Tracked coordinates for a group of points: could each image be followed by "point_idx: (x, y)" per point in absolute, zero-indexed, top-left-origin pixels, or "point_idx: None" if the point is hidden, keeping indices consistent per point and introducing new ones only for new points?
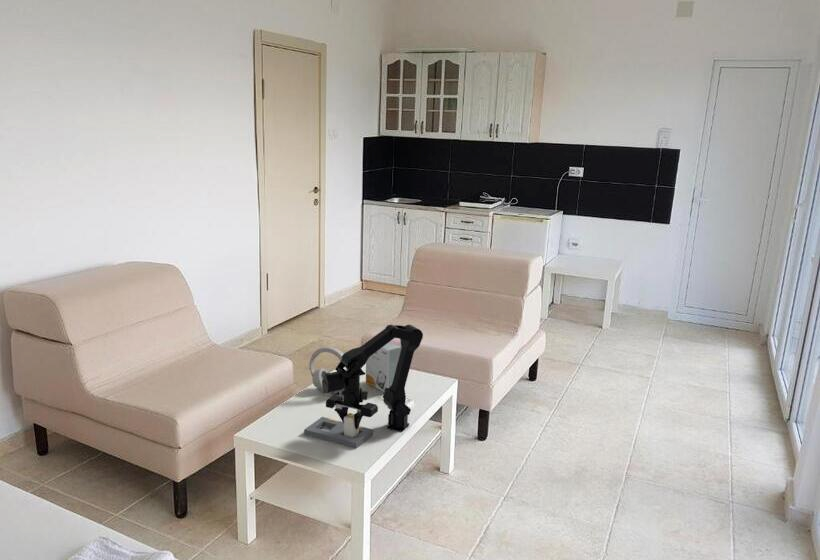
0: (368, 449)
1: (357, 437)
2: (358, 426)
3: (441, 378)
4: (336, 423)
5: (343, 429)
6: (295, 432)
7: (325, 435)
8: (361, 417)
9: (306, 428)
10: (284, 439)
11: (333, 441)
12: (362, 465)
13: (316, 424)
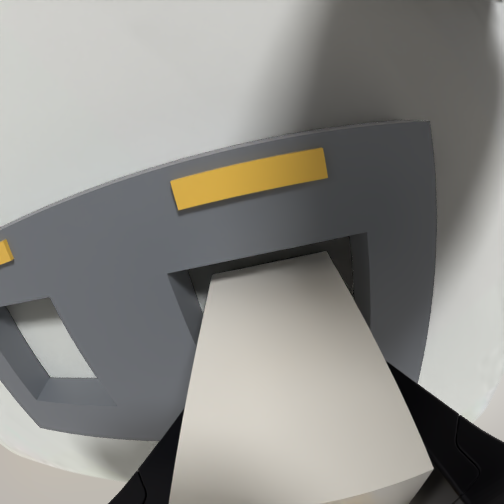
0: (466, 328)
1: (386, 354)
2: (388, 363)
3: None
4: (29, 283)
5: (165, 335)
6: None
7: (158, 438)
8: (490, 455)
9: (33, 417)
10: (64, 449)
11: None
12: (468, 413)
13: (4, 367)
